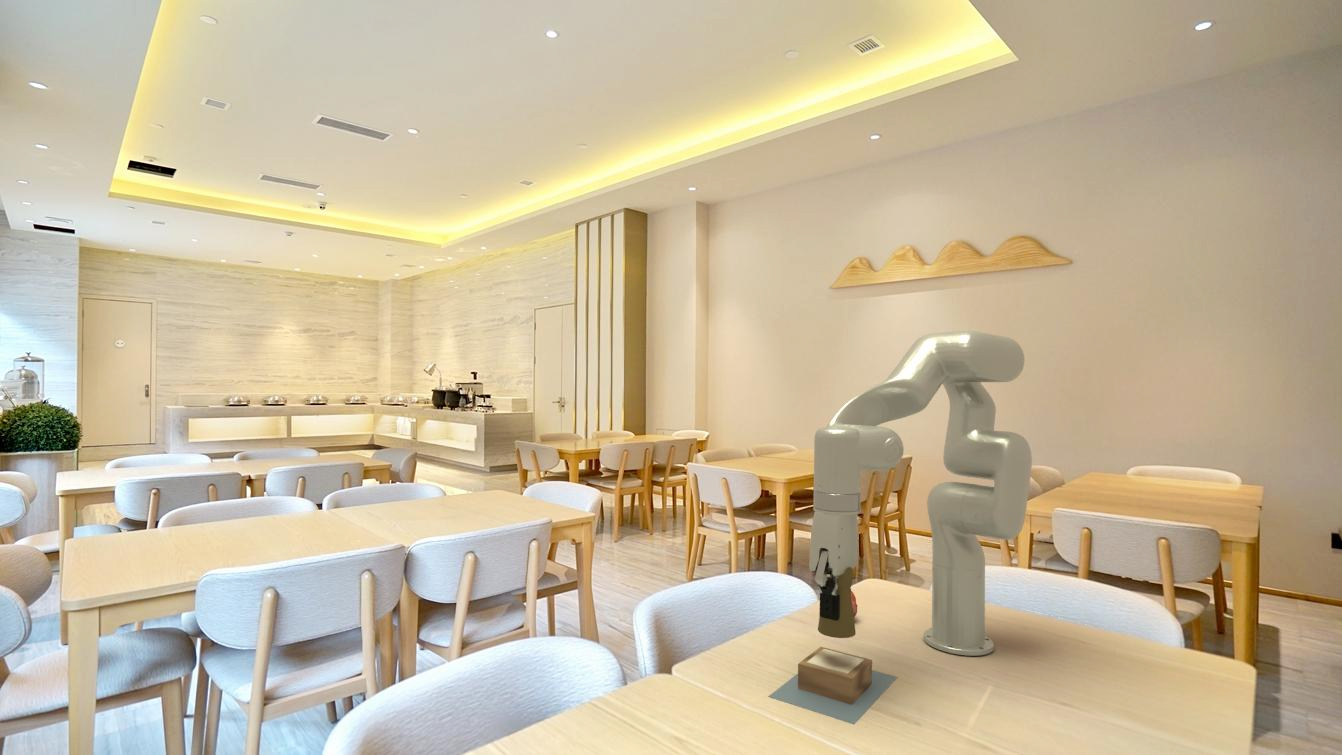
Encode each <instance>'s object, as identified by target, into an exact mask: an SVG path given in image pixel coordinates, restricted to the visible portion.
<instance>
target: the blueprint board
mask: <svg viewBox="0 0 1342 755" xmlns="http://www.w3.org/2000/svg"><path fill="white" fill-rule="evenodd" d="M897 679H898V676H894V675H893V674H889V673H883V672H880V671H877V670H876V671H875V670H873V669H872V685H871V686H870V687H869V688H868V689H867V690H866V691H865V692H864V693H863V694H862V695H861V696H860V697H859V698H858V699H857V700H856V701H855V702H854V703H853V704H852V705H850V704H847V703H844V702H841V701H837V700H834V699H831V698H827V697H824V696H821V695H818V694H814V693H811V692H808V691H804V690H801V689H798V673H797V674H795V675H794V676H793V677H791V678H790V679H788V680H787V681H786V682H785V683H783V684H782V685H781V686H780V687H778V688H777V689H775V691H774V692H772V693H771V694H769V695H768V696H767V697H768V698H770V699H773V700H774V699H775V700H776V701H779V702H783V703H786V704H789V705H793V706H795V707H798V708H801V709H805V710H808V711H812V712H814V713H817V714H820V715H824V716H826V717H831V718H833V719H836V720H839V721H842V722H845V723H848V724H852V725H855V724H856V723H857V722H858V721H859V720H860V719H861V718H862V717H863V716H864V715H865V713H867V711H869V709H870V708H871V707H872V705H874V703H876V702H877V700H878V699H879V698H880V697H881V696H882V695H883V694H884V693H885V692H886V691H887V689H889V688H890V687H891V686H892V684H893V683H894V682H895V681H896V680H897Z"/></svg>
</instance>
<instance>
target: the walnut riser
mask: <svg viewBox="0 0 1342 755" xmlns="http://www.w3.org/2000/svg"><path fill="white" fill-rule="evenodd" d="M872 670H873V659H869V658H867V657H862V656H858V655H854V654H850V653H846V652H844V651H839V650H835V649H831V648H826V647H824V646H820V647H818V648H817V649H815V650H814V651H813V652H812V653H810V654H809V655H808V656H806V657H805V658H803V659H802V660H801V661H800V662H798V663H797V674H798V689H801V690H804V691H808V692H811V693H814V694H818V695H821V696H824V697H827V698H831V699H834V700H837V701H841V702H844V703H847V704H850V705H852V704H853V703H854V702H855V701H856V700H857V699H858V698H859V697H860V696H861V695H862V694H863V693H864V692H865V691H866V690H867V689H868V688H869V687H870V686H871V685H872Z"/></svg>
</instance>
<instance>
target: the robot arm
mask: <svg viewBox="0 0 1342 755" xmlns="http://www.w3.org/2000/svg"><path fill="white" fill-rule="evenodd" d="M1024 354H1025V353H1024V351H1023V349H1022V346H1021V345H1020V344H1019V342H1017V341H1016V340H1015V339H1013V338H1011V337H1008V336H1003V335H999V334H998V335H997V334H993V333H989V332H988V333H987V332H981V331H975V330H974V331H973V330H961V331H948V332H947V331H946V332H933V333H928V334H925V335H922V336H920V337H918V339H916V340H915V341H914V342H913V344H911V346H910V347H909V349H908V350H907V352H906V353H905V354H904V355H903V357H902V358H901V360H900V361H899V362H898V364H897V365H896V366H895V367H894V368H893V370H892V371H891V372H890V373H889V375H888V377H887V378H885V380H883V381H881V382H879V383H877V384H875V385H874V386H872V387H870V388H868V389H867V390H865V391H863V392H861V393H860V394H858V395H856V396H854V397H853V398H851V399H850V400H849V401H847V402H846V403H844V404H843V405H842V406H841V407H840V408H839V410H838V411H837V412H836V413H835V415H834V416H833V417H832V419H831V420H830V421H829V422H828V423H827V425H826V426H825V427H820V428H818V429H817V430H816V431H815V432H814V433H815V434H814V444H813V445H814V448H813V449H814V452H813V454H814V455H813V511H814V514H813V517H812V525H811V532H810V542H809V543H810V544H809V562H808V563H809V566H808V569H809V571H810V573H812V574H815V576H814V581H815V582H816V583H817V586H818V592H819V617H822V618H827V619H831V620H835V621H837V620H839V618H840V595H837V594H838V578H839V576H840V575H842V574H844V572H845V570H846V569H847V568H848V567H851V568H852V570H853V571H854V569H855V567H856V566H857V565H858V561H859V526H858V525H859V523H858V515H860V514H861V502H862V501H861V500H862V499H861V496H862V494H861V493H862V492H861V491H862V470H866V471H867V470H868V471H875V472H876V471H877V472H884V471H888V470H891V469H894V467H896V466H897V465H898V464H899V463H900V462H901V460H902V458H903V457H904V456H903V455H904V451H905V450H904V443H903V440H902V438H901V437H900V435H899V434H898V433H897V432H896V431H894V430H893V429H891V428H888V427H884V426H880V425H882V424H885V423H888V422H892V421H896V420H900V419H904V418H908V417H909V416H913V415H916V414H918V413H920V412H922V411H923V410H925V409H926V408H927V407H928V406H929V404H930V402H931V401H932V399H934V397H935V395H936V393H937V392H938V391H939V389H940V387H942V386H943V387H944V390H945V392H946V394H947V396H948V401H949V413H948V422H947V427H946V433H945V441H944V449H943V455H942V456H943V465H944V467H945V469H946V470H947V471H949V473H950V474H951V473H952V474H953V475H957V476H961V477H968V478H975V479H983V480H991V481H993V482H994V483H993V486H989V485H981V484H975V483H969V482H960V481H944V482H940V483H938V484H936V485H934V486H933V487H932V489H930V492H929V493H928V495H927V499H926V500H927V501H926V504H927V505H926V506H927V507H926V508H927V514H928V519H929V523H930V524H929V525H930V530H931V542H932V544H931V546H932V548H931V549H932V561H931V562H932V567H931V568H932V574H931V575H932V576H931V577H932V578H931V579H932V582H931V583H932V585H931V588H932V590H931V593H932V594H931V599H932V600H931V628H928V629H926V630H925V631H923V640H924V642H925V643H926V644H927V645H929V646H930V647H932V648H935V649H937V650H939V651H942V652H945V653H949V654H953V655H959V656H968V657H973V656H977V657H978V656H985V655H988V654H991V653H992V652H993V651H994V649H995V648H994V642H993V640H992V639H991V638H990V637H989V636H987V635H986V634H985V633H986V629H985V628H986V588H985V587H986V557H985V553H984V549H983V547H982V544H981V543H980V541H979V539H978V538H977V536H980V537H985V538H991V539H997V540H1002V541H1003V540H1004V541H1010V540H1014V539H1015V538H1016V537H1018V536H1019V534H1021V532H1022V530H1023V527H1024V523H1025V519H1026V513H1027V505H1028V497H1029V490H1030V484H1031V474H1032V466H1033V465H1032V464H1033V459H1032V457H1033V456H1032V450H1031V447H1030V444H1029V442H1028V440H1026V438H1025V437H1024V436H1022V434H1019V433H1017V432H1014V431H1013V432H1012V431H1004V430H995V423H996V422H995V421H996V412H997V408H996V404H995V401H994V400H993V397H992V396H991V394H990V393H989V392H988V390H987V389H986V388H985V387H984V385H983V384H982V383H1009V382H1012V381H1014V380H1016V379H1017V378H1019V376H1020V375H1021V374H1022V373H1023V371H1024V366H1025V355H1024ZM827 570H830V571H832V574H833V575H832V574H827ZM827 578H831V579H833V585H832V583H831V581H830V580H828V579H827ZM852 585H853V582H852V583H851V585H850V590H851V591H852Z"/></svg>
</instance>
